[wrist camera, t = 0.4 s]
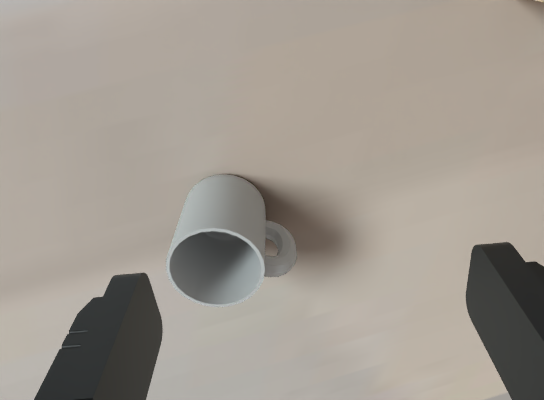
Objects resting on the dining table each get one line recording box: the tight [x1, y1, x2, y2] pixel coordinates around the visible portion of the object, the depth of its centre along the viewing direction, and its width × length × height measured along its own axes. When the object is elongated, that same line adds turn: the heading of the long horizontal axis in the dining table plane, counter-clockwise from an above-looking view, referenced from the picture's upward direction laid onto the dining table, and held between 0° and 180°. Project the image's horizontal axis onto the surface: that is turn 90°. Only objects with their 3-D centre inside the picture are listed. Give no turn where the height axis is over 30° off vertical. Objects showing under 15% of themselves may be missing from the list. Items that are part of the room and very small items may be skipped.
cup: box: [166, 174, 297, 307], centre depth 37 cm, size 7×10×9 cm
